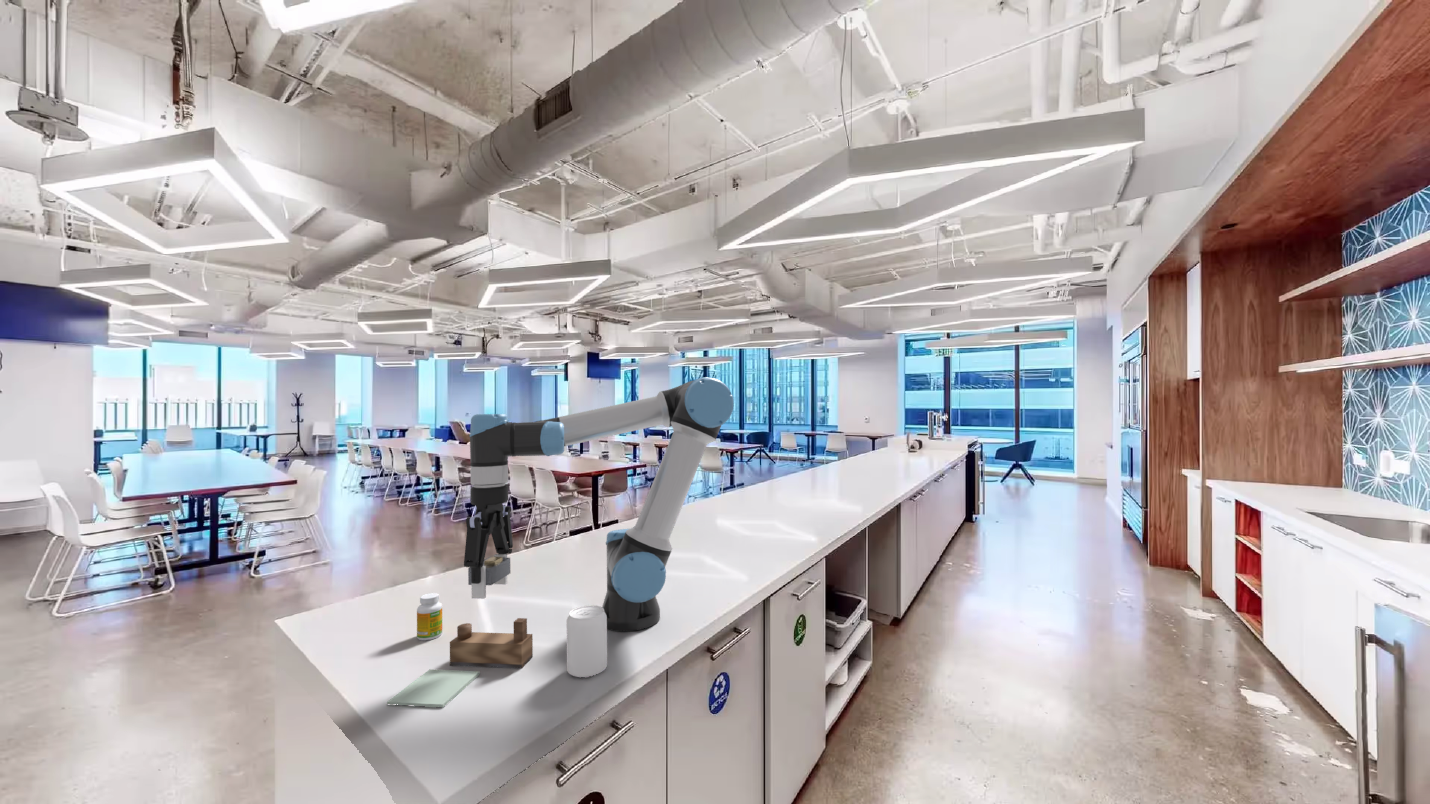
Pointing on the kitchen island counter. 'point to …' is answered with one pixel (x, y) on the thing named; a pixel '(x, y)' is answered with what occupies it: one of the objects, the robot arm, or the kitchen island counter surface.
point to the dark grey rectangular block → (494, 569)
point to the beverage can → (586, 641)
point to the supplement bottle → (429, 617)
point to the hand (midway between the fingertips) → (490, 590)
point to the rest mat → (434, 688)
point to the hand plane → (492, 647)
